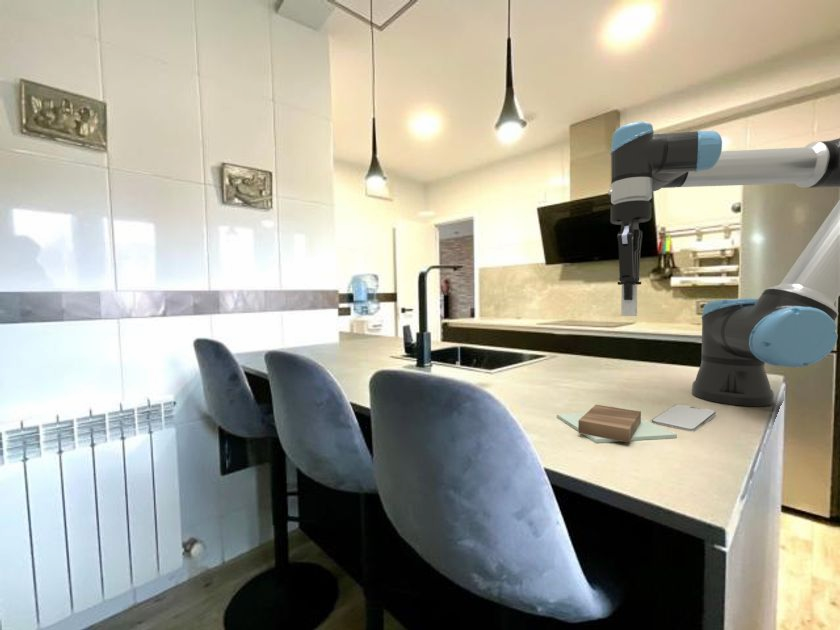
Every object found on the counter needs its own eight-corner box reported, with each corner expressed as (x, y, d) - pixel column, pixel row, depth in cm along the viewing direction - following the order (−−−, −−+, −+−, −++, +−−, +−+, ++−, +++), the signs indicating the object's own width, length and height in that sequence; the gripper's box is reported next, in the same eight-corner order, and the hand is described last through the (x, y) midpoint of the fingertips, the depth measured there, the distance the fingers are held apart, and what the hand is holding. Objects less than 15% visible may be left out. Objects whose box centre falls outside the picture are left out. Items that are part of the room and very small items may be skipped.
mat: (624, 413, 82) (624, 410, 82) (676, 437, 68) (676, 434, 68) (556, 417, 80) (556, 414, 80) (595, 442, 66) (595, 439, 66)
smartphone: (649, 420, 76) (676, 403, 85) (649, 426, 76) (676, 408, 85) (693, 429, 70) (717, 410, 80) (693, 436, 70) (717, 416, 80)
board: (595, 404, 78) (578, 420, 69) (640, 411, 74) (629, 429, 64) (595, 415, 79) (578, 432, 69) (640, 423, 74) (628, 442, 64)
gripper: (617, 210, 89) (616, 313, 90) (603, 200, 79) (602, 317, 80) (655, 205, 84) (653, 314, 86) (646, 193, 74) (644, 317, 75)
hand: (629, 315), depth 83 cm, fingers closed
